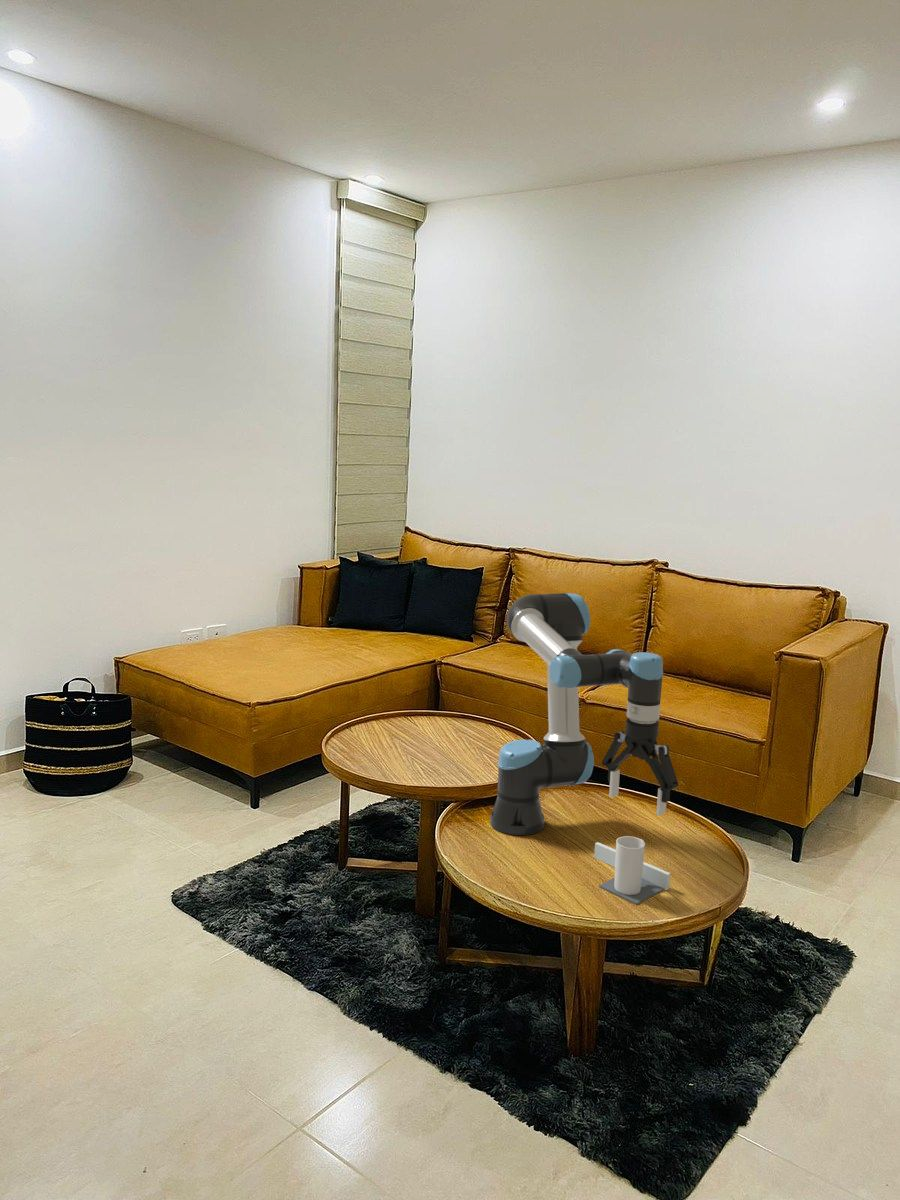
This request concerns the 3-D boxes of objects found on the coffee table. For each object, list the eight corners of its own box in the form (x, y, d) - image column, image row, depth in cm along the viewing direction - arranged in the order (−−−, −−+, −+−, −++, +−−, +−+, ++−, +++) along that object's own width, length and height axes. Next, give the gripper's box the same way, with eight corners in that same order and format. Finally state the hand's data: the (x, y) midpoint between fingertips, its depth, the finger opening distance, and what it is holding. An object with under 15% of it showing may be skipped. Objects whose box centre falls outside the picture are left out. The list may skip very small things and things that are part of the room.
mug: (631, 899, 210) (635, 851, 208) (607, 888, 215) (610, 842, 213) (653, 884, 218) (657, 838, 215) (629, 874, 222) (633, 829, 220)
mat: (599, 887, 216) (599, 885, 216) (626, 873, 224) (626, 871, 224) (636, 904, 208) (636, 903, 208) (663, 889, 216) (663, 888, 216)
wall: (594, 857, 232) (595, 843, 231) (597, 856, 232) (597, 842, 232) (666, 890, 216) (667, 874, 215) (669, 888, 216) (670, 873, 216)
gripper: (590, 709, 215) (585, 792, 219) (679, 736, 197) (672, 826, 201) (609, 703, 220) (604, 785, 224) (698, 729, 202) (691, 817, 206)
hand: (636, 804), depth 212 cm, fingers open, 13 cm apart
